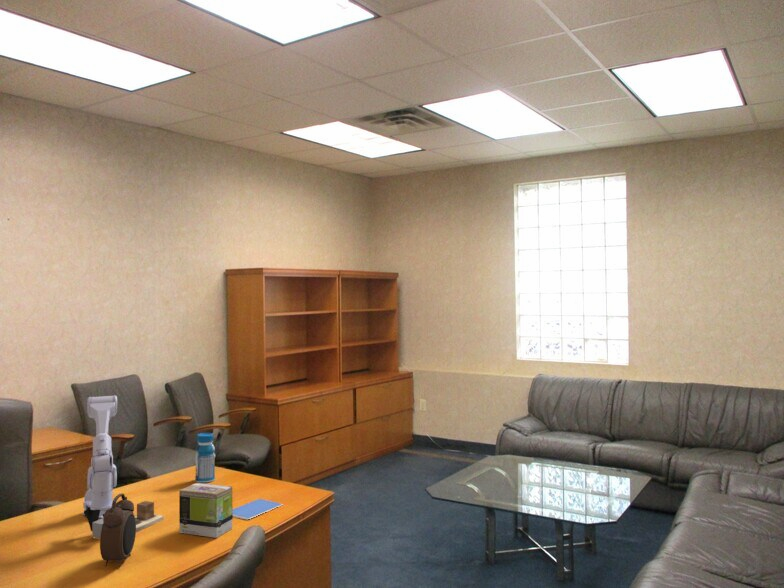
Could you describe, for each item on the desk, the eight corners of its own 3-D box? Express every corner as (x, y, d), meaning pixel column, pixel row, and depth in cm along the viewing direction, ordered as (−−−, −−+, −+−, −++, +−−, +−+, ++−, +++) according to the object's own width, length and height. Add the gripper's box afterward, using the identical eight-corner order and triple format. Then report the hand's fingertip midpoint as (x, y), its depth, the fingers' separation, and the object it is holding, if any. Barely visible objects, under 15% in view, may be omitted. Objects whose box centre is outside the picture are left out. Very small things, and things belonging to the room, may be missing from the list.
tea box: (233, 528, 215) (233, 485, 215) (216, 539, 205) (216, 494, 205) (196, 523, 220) (196, 481, 220) (178, 533, 210) (178, 489, 210)
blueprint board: (111, 528, 214) (111, 525, 214) (141, 515, 227) (141, 512, 227) (134, 533, 210) (134, 529, 210) (163, 519, 223) (163, 515, 223)
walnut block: (145, 514, 224) (145, 500, 224) (153, 516, 223) (154, 502, 223) (136, 518, 221) (136, 504, 221) (145, 519, 219) (145, 505, 219)
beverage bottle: (204, 484, 264) (204, 437, 265) (190, 481, 269) (190, 435, 269) (219, 479, 272) (219, 433, 272) (205, 476, 276) (205, 431, 276)
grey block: (92, 537, 206) (92, 522, 206) (102, 533, 210) (102, 518, 210) (101, 539, 205) (101, 524, 205) (111, 535, 209) (111, 520, 209)
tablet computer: (259, 501, 245) (259, 497, 245) (284, 506, 239) (284, 503, 239) (222, 515, 228) (222, 512, 228) (248, 522, 222) (248, 518, 222)
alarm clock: (123, 572, 181) (123, 502, 181) (97, 572, 180) (97, 503, 180) (139, 551, 195) (140, 487, 195) (115, 552, 195) (116, 488, 195)
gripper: (75, 491, 207) (75, 532, 207) (108, 497, 201) (108, 539, 201) (93, 485, 213) (93, 525, 213) (125, 490, 208) (125, 531, 208)
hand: (101, 531), depth 208 cm, fingers open, 6 cm apart
